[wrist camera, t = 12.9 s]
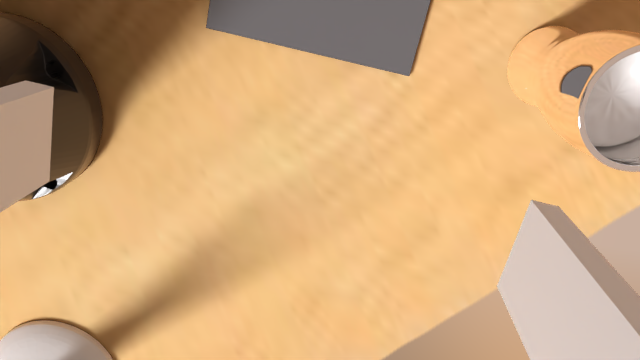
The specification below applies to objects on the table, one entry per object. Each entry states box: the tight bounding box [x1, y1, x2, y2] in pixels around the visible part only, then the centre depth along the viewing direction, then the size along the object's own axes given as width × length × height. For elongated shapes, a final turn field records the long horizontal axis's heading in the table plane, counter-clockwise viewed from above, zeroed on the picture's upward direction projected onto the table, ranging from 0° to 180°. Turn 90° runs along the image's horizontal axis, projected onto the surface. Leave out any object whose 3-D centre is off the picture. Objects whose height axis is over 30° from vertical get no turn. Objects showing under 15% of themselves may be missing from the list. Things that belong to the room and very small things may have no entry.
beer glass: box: [507, 26, 640, 172], centre depth 34 cm, size 7×7×15 cm
